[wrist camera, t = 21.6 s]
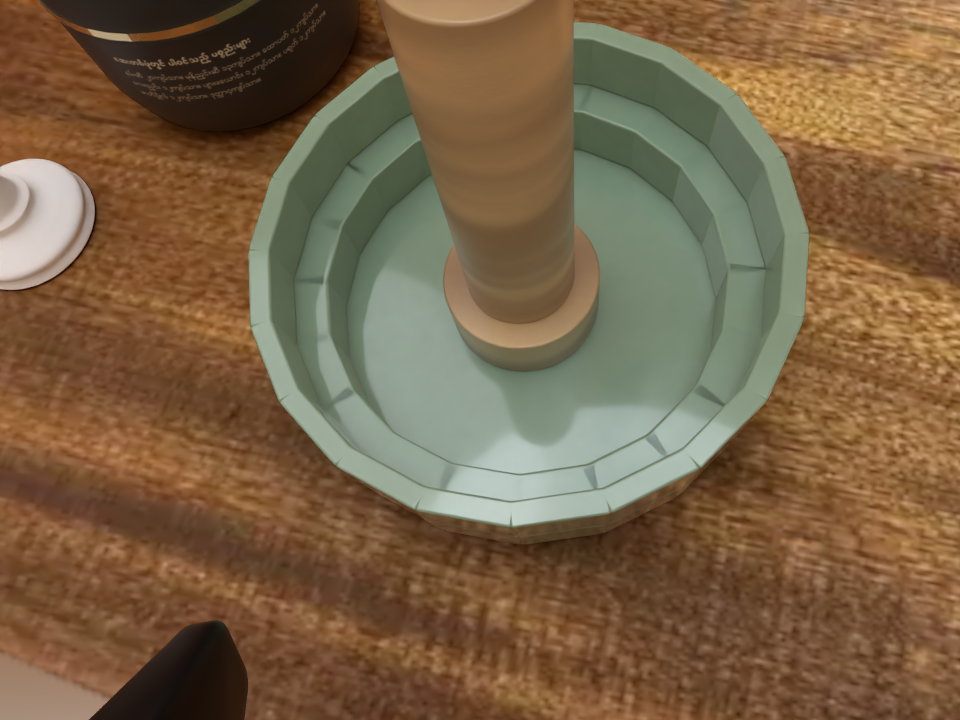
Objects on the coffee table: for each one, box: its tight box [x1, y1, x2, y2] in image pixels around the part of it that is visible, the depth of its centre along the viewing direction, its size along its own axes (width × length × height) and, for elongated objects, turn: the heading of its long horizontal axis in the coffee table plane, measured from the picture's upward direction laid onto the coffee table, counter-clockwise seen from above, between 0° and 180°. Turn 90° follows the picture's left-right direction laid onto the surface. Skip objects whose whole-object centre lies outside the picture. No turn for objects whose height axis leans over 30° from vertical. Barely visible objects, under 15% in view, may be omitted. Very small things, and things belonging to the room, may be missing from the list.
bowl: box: [249, 22, 809, 544], centre depth 21 cm, size 14×14×4 cm
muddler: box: [376, 0, 600, 371], centre depth 17 cm, size 4×4×13 cm
